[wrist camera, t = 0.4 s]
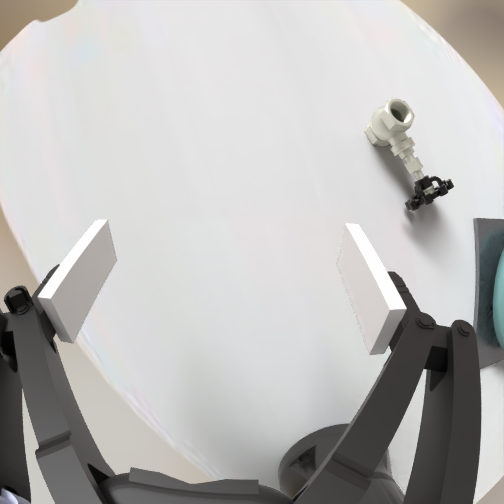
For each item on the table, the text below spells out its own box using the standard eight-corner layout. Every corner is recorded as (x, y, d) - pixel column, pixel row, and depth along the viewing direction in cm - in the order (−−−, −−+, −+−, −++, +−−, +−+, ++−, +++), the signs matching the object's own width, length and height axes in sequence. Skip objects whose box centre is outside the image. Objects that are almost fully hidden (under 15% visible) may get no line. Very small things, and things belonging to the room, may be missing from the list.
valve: (348, 128, 33) (399, 215, 32) (368, 104, 26) (428, 206, 26) (386, 112, 33) (433, 192, 33) (408, 89, 26) (463, 181, 26)
